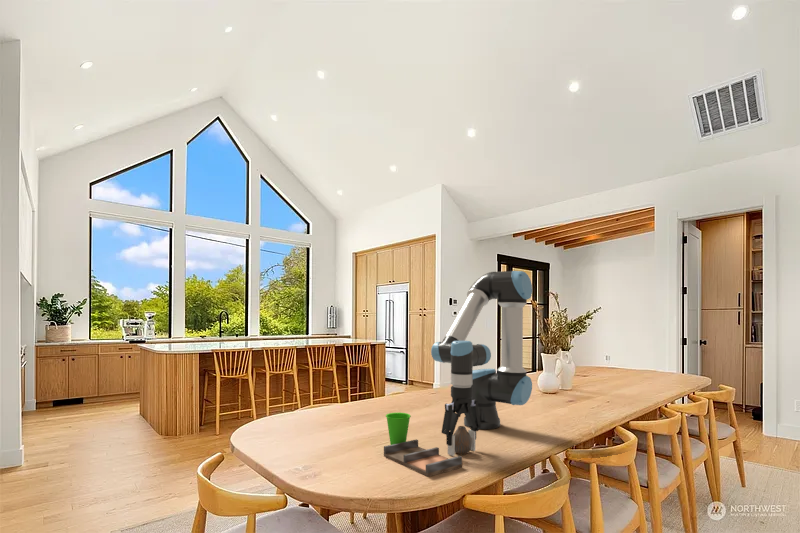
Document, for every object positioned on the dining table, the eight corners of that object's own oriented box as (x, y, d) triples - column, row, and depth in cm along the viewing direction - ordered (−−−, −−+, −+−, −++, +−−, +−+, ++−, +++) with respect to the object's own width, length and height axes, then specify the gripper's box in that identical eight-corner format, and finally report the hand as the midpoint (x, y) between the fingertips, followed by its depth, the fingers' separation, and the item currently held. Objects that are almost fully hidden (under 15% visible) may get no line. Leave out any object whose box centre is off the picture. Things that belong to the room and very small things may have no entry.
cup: (396, 441, 175) (396, 411, 176) (415, 446, 170) (415, 415, 170) (380, 447, 168) (380, 415, 169) (399, 452, 163) (400, 419, 164)
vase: (448, 450, 165) (448, 425, 166) (465, 448, 167) (465, 423, 168) (457, 457, 159) (457, 430, 159) (475, 454, 161) (475, 428, 162)
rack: (416, 448, 167) (416, 439, 167) (462, 467, 149) (462, 456, 149) (383, 456, 159) (383, 446, 159) (427, 476, 140) (427, 465, 141)
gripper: (476, 381, 174) (476, 444, 172) (430, 387, 161) (430, 455, 159) (491, 384, 168) (491, 449, 166) (445, 390, 155) (445, 461, 153)
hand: (461, 452), depth 163 cm, fingers open, 9 cm apart
